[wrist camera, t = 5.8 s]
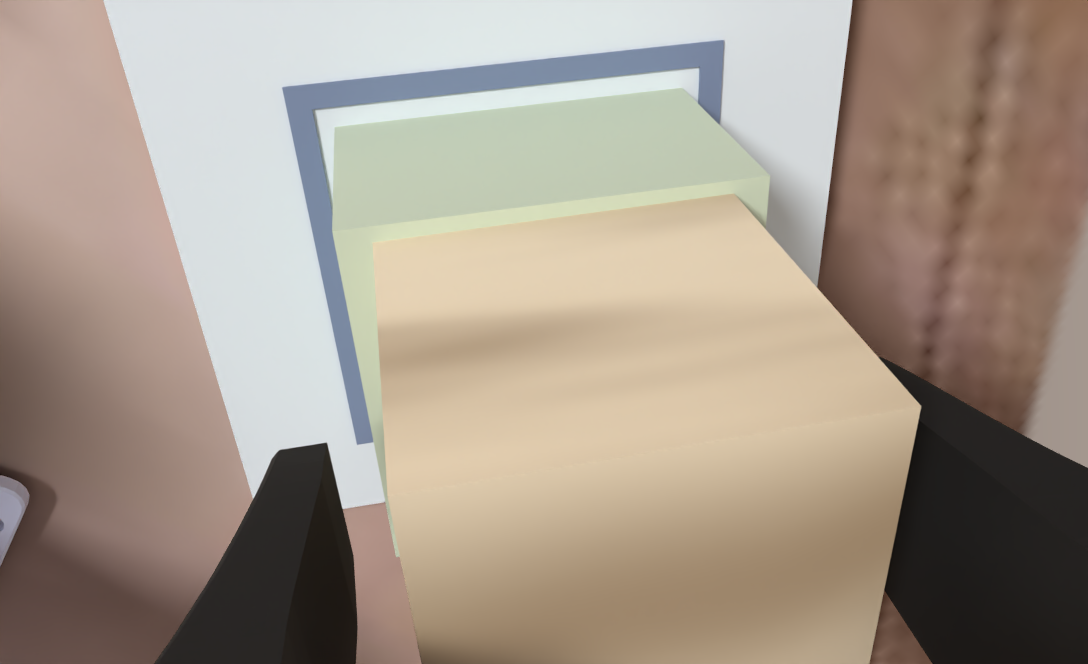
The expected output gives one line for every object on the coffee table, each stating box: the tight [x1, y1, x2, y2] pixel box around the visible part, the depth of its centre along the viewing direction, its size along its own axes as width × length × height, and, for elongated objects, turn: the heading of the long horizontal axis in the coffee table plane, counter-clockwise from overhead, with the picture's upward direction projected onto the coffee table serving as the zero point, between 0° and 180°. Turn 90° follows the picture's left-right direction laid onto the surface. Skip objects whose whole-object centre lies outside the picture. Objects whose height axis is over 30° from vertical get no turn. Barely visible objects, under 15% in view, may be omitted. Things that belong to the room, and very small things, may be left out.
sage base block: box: [332, 88, 770, 557], centre depth 16 cm, size 6×6×4 cm
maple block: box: [372, 193, 921, 664], centre depth 12 cm, size 5×5×5 cm
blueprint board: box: [103, 0, 853, 509], centre depth 16 cm, size 18×12×1 cm, turn 3°
